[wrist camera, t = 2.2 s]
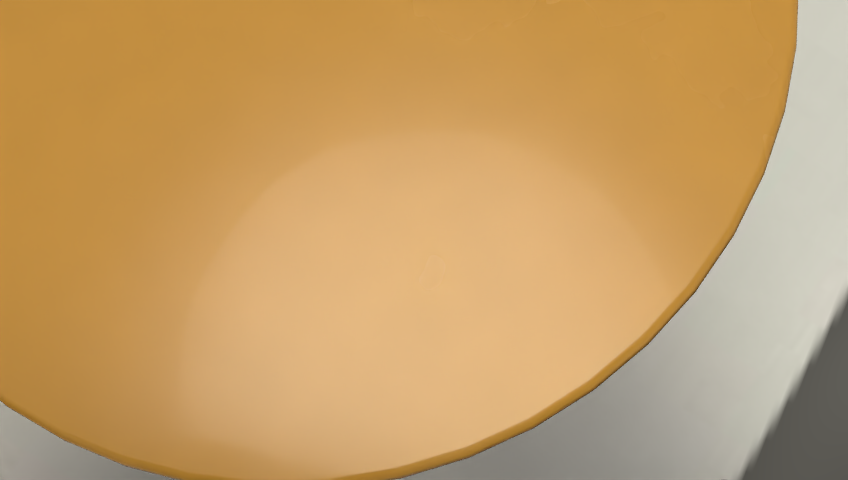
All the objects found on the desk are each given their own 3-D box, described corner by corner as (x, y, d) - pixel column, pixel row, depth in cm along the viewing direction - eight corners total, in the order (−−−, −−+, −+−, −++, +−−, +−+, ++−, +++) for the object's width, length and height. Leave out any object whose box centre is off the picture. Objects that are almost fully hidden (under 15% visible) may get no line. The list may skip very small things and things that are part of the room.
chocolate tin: (492, 427, 20) (554, 690, 4) (282, 329, 21) (-368, 229, 5) (585, 214, 20) (953, -280, 5) (377, 126, 21) (88, -565, 5)
